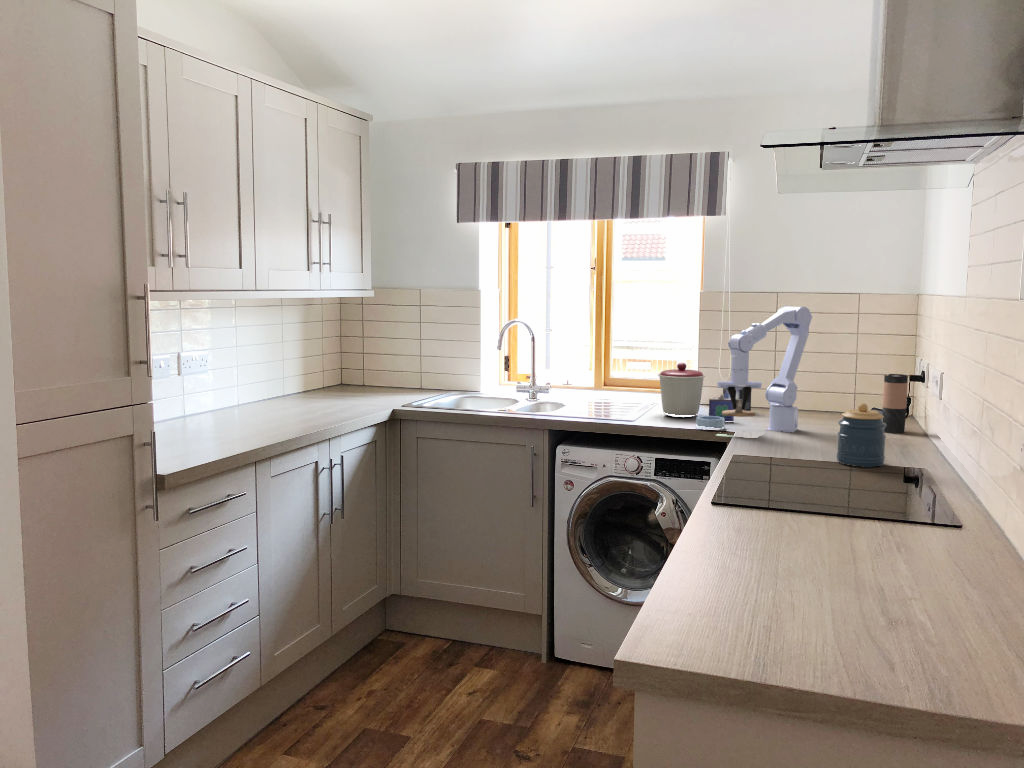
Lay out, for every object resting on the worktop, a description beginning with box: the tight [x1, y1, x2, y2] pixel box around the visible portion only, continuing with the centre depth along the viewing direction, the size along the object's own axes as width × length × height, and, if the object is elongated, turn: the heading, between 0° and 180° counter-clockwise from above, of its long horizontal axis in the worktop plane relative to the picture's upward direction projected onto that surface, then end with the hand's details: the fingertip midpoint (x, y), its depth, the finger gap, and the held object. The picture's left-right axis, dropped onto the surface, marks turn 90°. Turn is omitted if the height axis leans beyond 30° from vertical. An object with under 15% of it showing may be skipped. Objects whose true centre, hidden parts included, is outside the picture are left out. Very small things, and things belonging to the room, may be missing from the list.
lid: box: [722, 399, 756, 418], centre depth 297 cm, size 11×11×5 cm
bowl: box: [695, 415, 726, 428], centre depth 309 cm, size 10×10×4 cm
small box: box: [722, 385, 752, 411], centre depth 345 cm, size 11×6×10 cm, turn 25°
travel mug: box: [881, 373, 909, 434], centre depth 301 cm, size 8×8×20 cm
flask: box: [708, 393, 735, 421], centre depth 322 cm, size 9×3×11 cm, turn 87°
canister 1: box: [657, 362, 706, 416], centre depth 336 cm, size 18×18×21 cm
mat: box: [715, 433, 734, 438], centre depth 297 cm, size 14×14×1 cm
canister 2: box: [836, 402, 887, 468], centre depth 250 cm, size 13×13×18 cm
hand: (738, 408), depth 297 cm, fingers closed on lid, 2 cm apart
